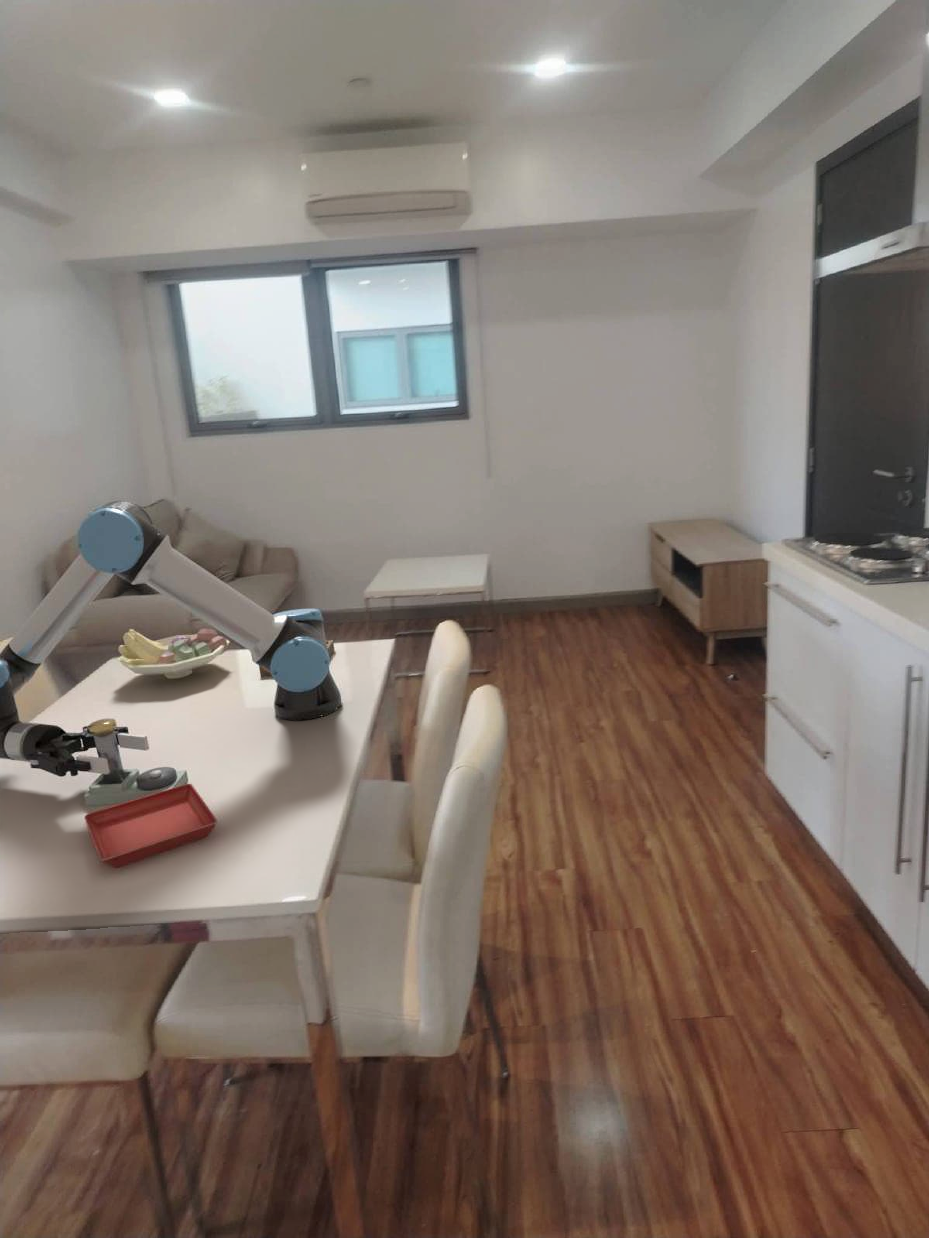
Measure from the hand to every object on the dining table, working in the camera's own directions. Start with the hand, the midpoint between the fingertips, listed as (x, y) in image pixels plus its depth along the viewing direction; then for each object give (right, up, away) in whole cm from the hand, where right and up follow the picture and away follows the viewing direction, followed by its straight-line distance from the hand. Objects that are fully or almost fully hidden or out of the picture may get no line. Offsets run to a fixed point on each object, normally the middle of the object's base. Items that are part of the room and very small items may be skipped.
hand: (127, 754), depth 144 cm
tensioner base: (0, -8, +4) cm, 9 cm away
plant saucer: (+9, -12, -11) cm, 18 cm away
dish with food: (-15, +10, +69) cm, 72 cm away
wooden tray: (+17, +13, +70) cm, 73 cm away
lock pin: (-4, -6, +4) cm, 8 cm away
